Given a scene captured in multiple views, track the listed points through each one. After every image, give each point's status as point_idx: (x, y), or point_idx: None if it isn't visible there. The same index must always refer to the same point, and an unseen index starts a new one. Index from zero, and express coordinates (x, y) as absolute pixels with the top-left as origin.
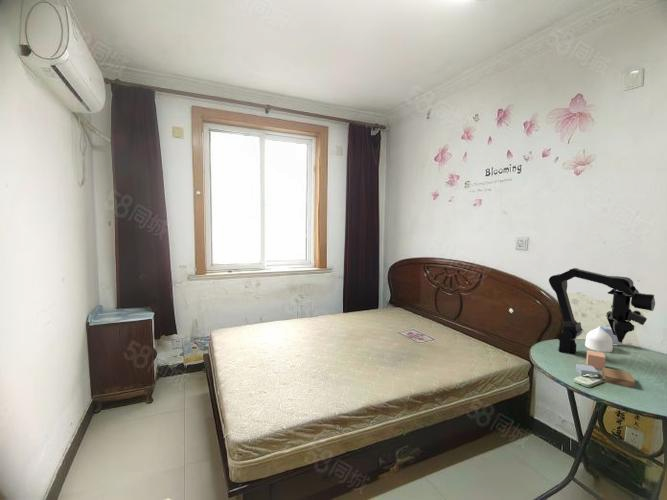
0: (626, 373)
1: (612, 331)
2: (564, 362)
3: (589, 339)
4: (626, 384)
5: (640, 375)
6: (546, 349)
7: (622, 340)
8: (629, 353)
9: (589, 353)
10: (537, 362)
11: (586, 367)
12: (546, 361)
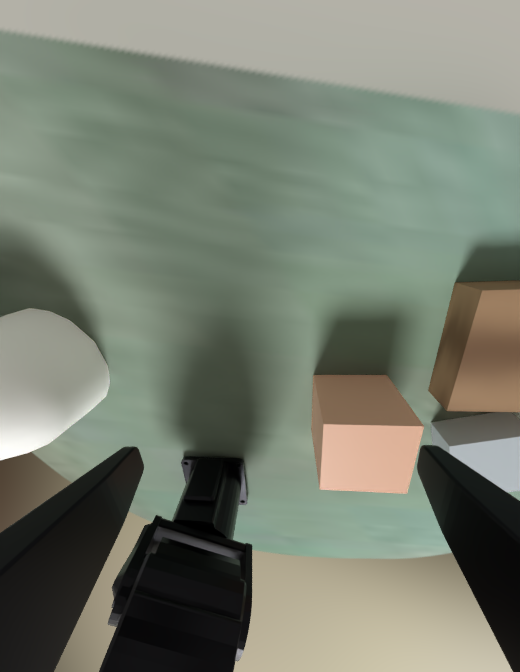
0: (507, 311)
1: (118, 527)
2: (366, 493)
3: (57, 436)
4: None
5: (377, 218)
6: (248, 528)
7: (473, 470)
8: (10, 228)
9: (381, 486)
10: (414, 557)
11: (487, 469)
12: (388, 537)
